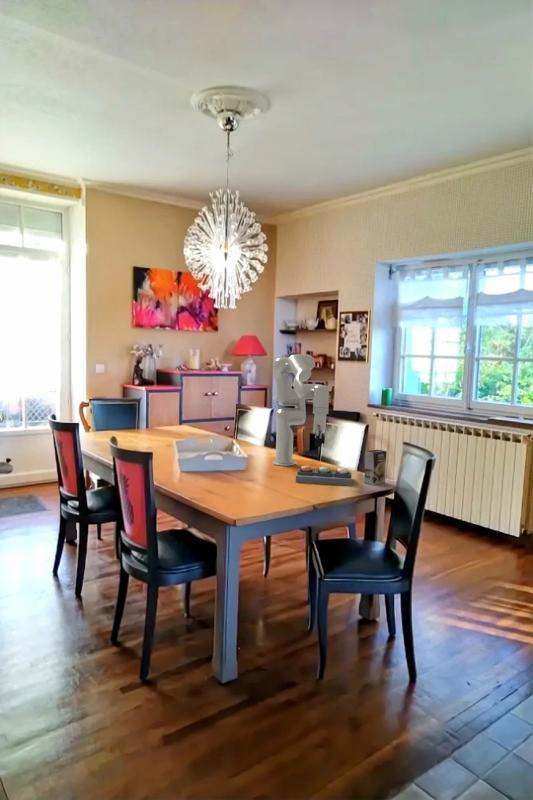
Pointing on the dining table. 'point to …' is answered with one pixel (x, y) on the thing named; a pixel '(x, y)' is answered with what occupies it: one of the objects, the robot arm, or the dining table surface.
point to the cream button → (342, 470)
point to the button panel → (324, 477)
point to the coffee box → (375, 467)
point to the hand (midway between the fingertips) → (319, 444)
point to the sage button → (324, 469)
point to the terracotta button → (306, 468)
